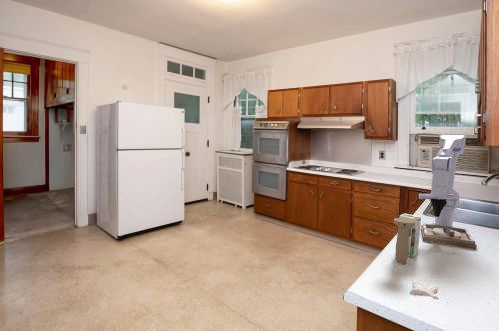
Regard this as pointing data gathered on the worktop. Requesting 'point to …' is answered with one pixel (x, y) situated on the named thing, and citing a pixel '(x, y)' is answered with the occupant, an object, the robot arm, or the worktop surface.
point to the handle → (403, 239)
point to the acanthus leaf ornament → (423, 289)
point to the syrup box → (413, 234)
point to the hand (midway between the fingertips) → (436, 216)
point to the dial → (446, 232)
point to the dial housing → (463, 241)
